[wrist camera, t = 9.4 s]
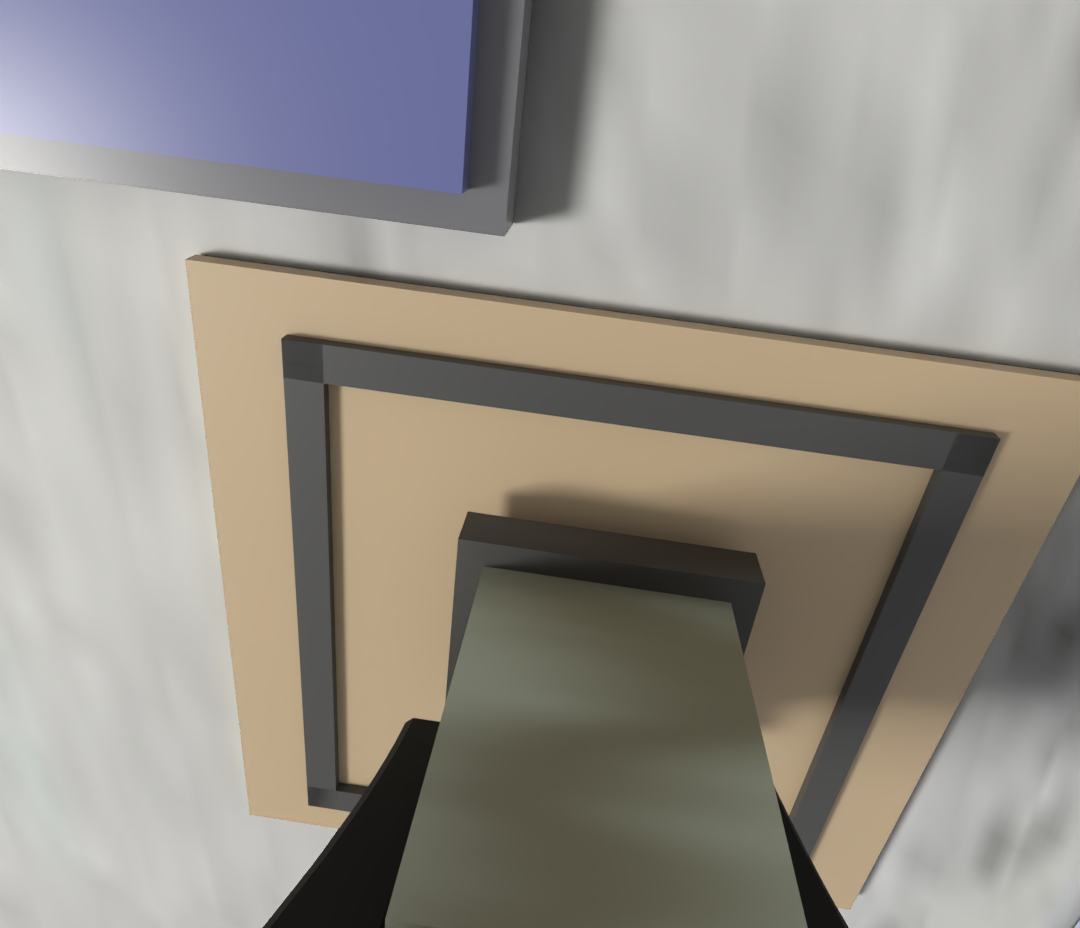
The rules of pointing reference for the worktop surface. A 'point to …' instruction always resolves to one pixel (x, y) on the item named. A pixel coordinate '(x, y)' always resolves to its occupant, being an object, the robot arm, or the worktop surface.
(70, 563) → the worktop surface
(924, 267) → the worktop surface
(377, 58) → the ink pad
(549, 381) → the sheet
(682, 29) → the worktop surface
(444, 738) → the stamp
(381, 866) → the robot arm
